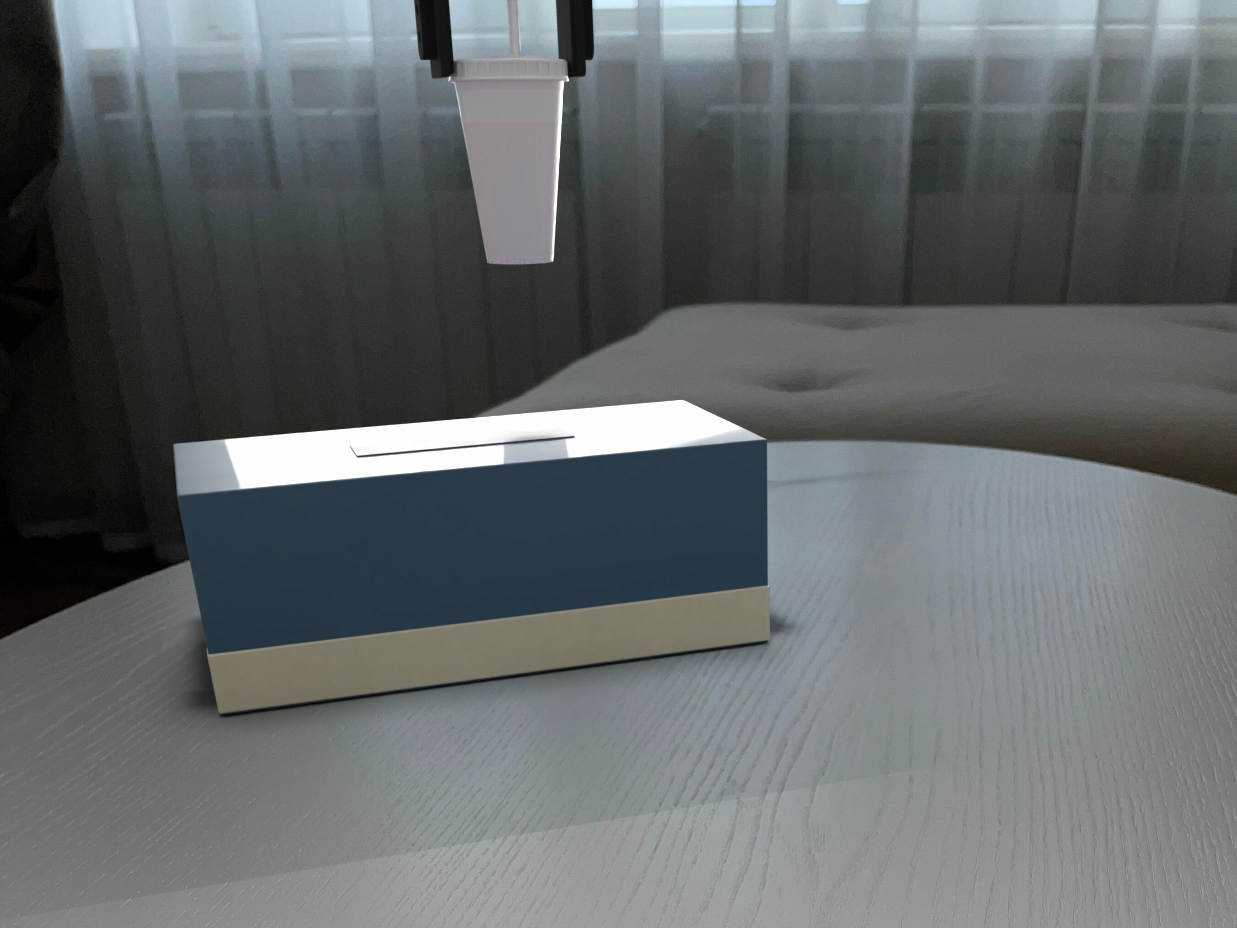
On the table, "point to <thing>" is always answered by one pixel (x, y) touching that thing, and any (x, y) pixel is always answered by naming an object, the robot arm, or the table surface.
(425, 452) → the tissue box
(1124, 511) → the table surface
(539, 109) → the smoothie
